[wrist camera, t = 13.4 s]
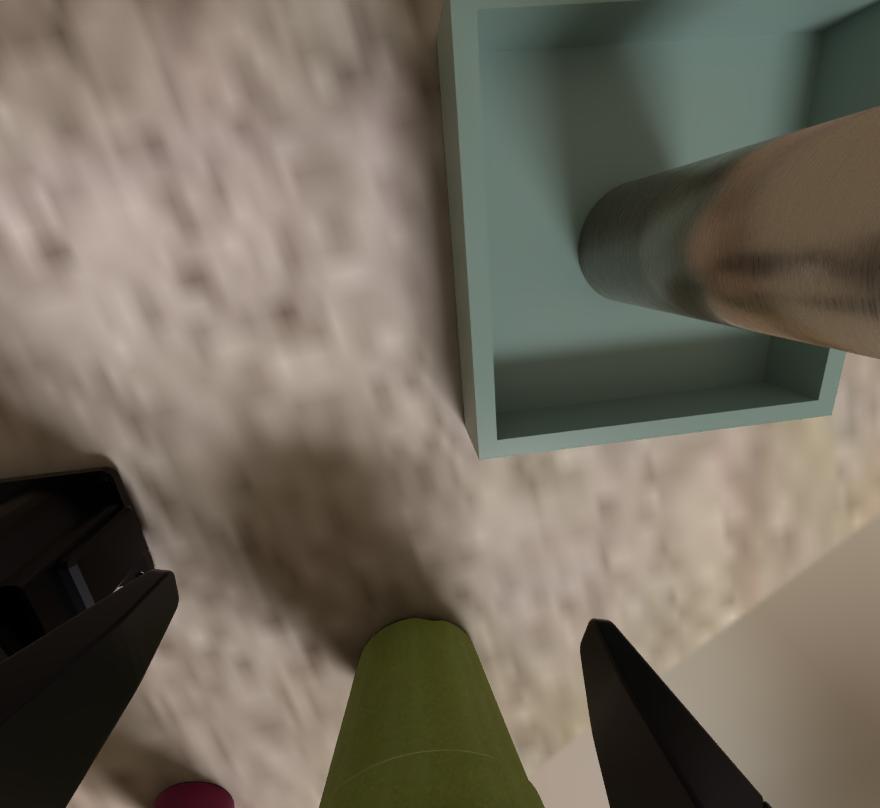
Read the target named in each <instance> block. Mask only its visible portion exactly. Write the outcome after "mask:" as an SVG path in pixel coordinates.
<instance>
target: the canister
mask: <svg viewBox="0 0 880 808" xmlns="http://www.w3.org/2000/svg"><path fill="white" fill-rule="evenodd" d="M578 256H579V263H580V267H581V270H582V273H583V275H584V277H585V279H586V281H587V282H588V284H589V285H590V286H591V288H592V289H593V290H594V291H596V292H597V293H598V294H599V295H601V296H603V297H604V298H607V299H609V300H612V301H616V302H621V303H625V304H630V305H634V306H639V307H644V308H648V309H653V310H657V311H662V312H667V313H671V314H676V315H680V316H685V317H689V318H694V319H699V320H703V321H708V322H712V323H717V324H721V325H726V326H731V327H735V328H740V329H744V330H749V331H754V332H758V333H763V334H767V335H772V336H776V337H781V338H786V339H790V340H795V341H799V342H804V343H809V344H813V345H818V346H822V347H827V348H831V349H836V350H841V351H845V352H850V353H854V354H859V355H863V356H868V357H873V358H877V359H880V106H878V107H874V108H871V109H868V110H864V111H861V112H858V113H854V114H851V115H848V116H845V117H841V118H838V119H835V120H831V121H828V122H825V123H821V124H818V125H815V126H812V127H808V128H805V129H802V130H798V131H795V132H792V133H788V134H785V135H782V136H779V137H775V138H772V139H769V140H765V141H762V142H759V143H755V144H752V145H749V146H746V147H742V148H739V149H736V150H732V151H729V152H726V153H722V154H719V155H716V156H713V157H709V158H706V159H703V160H699V161H696V162H693V163H689V164H686V165H683V166H680V167H676V168H673V169H670V170H666V171H663V172H660V173H656V174H653V175H650V176H647V177H643V178H640V179H637V180H633V181H630V182H627V183H623V184H621V185H619V186H617V187H615V188H613V189H612V190H610V191H609V192H607V193H606V194H605V195H604V196H602V197H601V198H600V200H599V201H598V202H597V203H596V204H595V205H594V207H593V208H592V209H591V211H590V212H589V214H588V216H587V218H586V220H585V222H584V224H583V227H582V230H581V233H580V238H579V246H578Z"/></svg>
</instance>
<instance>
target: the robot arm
mask: <svg viewBox="0 0 880 808" xmlns="http://www.w3.org/2000/svg"><path fill="white" fill-rule="evenodd" d="M102 476H105V477H107V479H108V481H106V480H104V479H103V477H102ZM140 571H142V572H144V574H143V573H141V572H140ZM120 586H123V587H122V588H120V589H119V590H117V591H115V590H116V589H117V587H120ZM114 591H115V592H114ZM113 592H114V593H113ZM178 602H179V595H178V590H177V585H176V580H175V575H174V573H173V572H172V571H169V570H160V569H155V568H154V566H153V563H152V560H151V558H150V555H149V552H148V548H147V545H146V542H145V540H144V537H143V535H142V532H141V529H140V527H139V524H138V521H137V519H136V516H135V514H134V511H133V509H132V508H131V505H130V503H129V500H128V497H127V495H126V492H125V490H124V487H123V484H122V482H121V479H120V477H119V474H118V473H117V471H115V470H114V469H113V468H110V467H99V468H91V469H82V470H74V471H66V472H58V473H49V474H41V475H33V476H24V477H16V478H8V479H0V808H66V806H67V805H68V803H69V801H70V800H71V798H72V796H73V795H74V793H75V791H76V790H77V788H78V786H79V785H80V783H81V781H82V780H83V778H84V776H85V775H86V773H87V771H88V770H89V768H90V766H91V765H92V763H93V762H94V760H95V758H96V757H97V755H98V753H99V752H100V750H101V748H102V747H103V745H104V743H105V742H106V740H107V738H108V737H109V735H110V733H111V732H112V730H113V728H114V727H115V725H116V723H117V722H118V720H119V718H120V717H121V715H122V713H123V712H124V710H125V709H126V707H127V705H128V704H129V702H130V700H131V699H132V697H133V695H134V693H135V692H136V690H137V688H138V686H139V685H140V683H141V681H142V679H143V677H144V675H145V673H146V671H147V669H148V667H149V665H150V663H151V661H152V659H153V657H154V655H155V652H156V650H157V648H158V646H159V644H160V642H161V640H162V638H163V636H164V634H165V632H166V630H167V628H168V626H169V624H170V622H171V620H172V617H173V615H174V613H175V611H176V609H177V606H178ZM580 655H581V662H582V669H583V676H584V683H585V689H586V696H587V703H588V710H589V717H590V723H591V729H592V734H593V738H594V743H595V748H596V752H597V756H598V760H599V764H600V768H601V772H602V776H603V780H604V784H605V788H606V793H607V797H608V800H609V805H610V808H772V807H771V806H770V805H769V804H768V803H767V802H766V801H764V802H763V797H762V796H761V794H760V793H759V792H758V791H757V790H756V789H755V788H754V786H753V785H752V784H751V783H750V782H749V781H748V779H747V778H746V777H745V776H744V775H743V774H742V772H741V771H740V770H739V769H738V768H737V767H736V765H735V764H734V763H733V762H732V761H731V760H730V758H729V757H728V756H727V755H726V754H725V753H724V751H722V749H721V748H720V747H719V746H718V745H717V743H716V742H715V741H714V740H713V739H712V737H711V736H710V735H709V734H708V733H707V732H706V731H705V729H704V728H703V727H702V726H701V725H700V724H699V722H698V721H697V720H696V719H695V718H694V717H693V716H692V714H691V713H690V712H689V711H688V710H687V708H686V707H685V706H684V705H683V704H682V703H681V702H680V700H679V699H678V698H677V697H676V696H675V694H674V693H673V692H672V691H671V690H670V689H669V688H668V686H667V685H666V684H665V683H664V682H663V681H662V679H661V678H660V677H659V676H658V675H657V674H656V672H655V671H654V670H653V669H652V668H651V667H650V665H649V664H648V663H647V662H646V661H645V660H644V658H643V657H642V656H641V655H640V654H639V653H638V651H637V650H636V649H635V648H634V647H633V646H632V644H631V643H630V642H629V641H628V640H627V639H626V638H625V636H624V635H623V634H622V633H621V632H620V631H619V629H618V628H617V627H616V626H615V625H614V624H613V623H612V622H611V621H609V620H604V619H595V618H594V619H591V620H590V621H589V623H588V626H587V628H586V631H585V633H584V636H583V638H582V641H581V645H580Z"/></svg>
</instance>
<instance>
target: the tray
mask: <svg viewBox="0 0 880 808" xmlns="http://www.w3.org/2000/svg"><path fill="white" fill-rule="evenodd" d="M437 52H438V66H439V79H440V93H441V107H442V120H443V134H444V148H445V161H446V175H447V188H448V202H449V216H450V229H451V243H452V256H453V270H454V284H455V297H456V311H457V324H458V338H459V352H460V365H461V379H462V392H463V406H464V420H465V428H466V430H467V432H468V435H469V437H470V439H471V442H472V444H473V446H474V449H475V451H476V453H477V456H478V458H479V460H482V459H490V458H498V457H506V456H513V455H521V454H529V453H537V452H545V451H553V450H561V449H569V448H576V447H584V446H592V445H600V444H608V443H616V442H624V441H631V440H639V439H647V438H655V437H663V436H671V435H679V434H686V433H694V432H702V431H710V430H718V429H726V428H734V427H741V426H749V425H757V424H765V423H773V422H781V421H789V420H796V419H804V418H812V417H820V416H828V415H832V410H833V406H834V402H835V397H836V393H837V389H838V385H839V380H840V376H841V372H842V368H843V363H844V359H845V355H846V352H845V351H841V350H836V349H831V348H827V347H822V346H818V345H813V344H809V343H804V342H799V341H795V340H790V339H786V338H781V337H776V336H772V335H767V334H763V333H758V332H754V331H749V330H744V329H740V328H735V327H731V326H726V325H721V324H717V323H712V322H708V321H703V320H699V319H694V318H689V317H685V316H680V315H676V314H671V313H667V312H662V311H657V310H653V309H648V308H644V307H639V306H634V305H630V304H625V303H621V302H616V301H612V300H609V299H607V298H604V297H603V296H601V295H599V294H598V293H597V292H596V291H594V290H593V289H592V288H591V286H590V285H589V284H588V282H587V281H586V279H585V277H584V275H583V273H582V270H581V267H580V263H579V256H578V246H579V238H580V233H581V230H582V227H583V224H584V222H585V220H586V218H587V216H588V214H589V212H590V211H591V209H592V208H593V207H594V205H595V204H596V203H597V202H598V201H599V200H600V198H601V197H602V196H604V195H605V194H606V193H607V192H609V191H610V190H612V189H613V188H615V187H617V186H619V185H621V184H623V183H627V182H630V181H633V180H637V179H640V178H643V177H647V176H650V175H653V174H656V173H660V172H663V171H666V170H670V169H673V168H676V167H680V166H683V165H686V164H689V163H693V162H696V161H699V160H703V159H706V158H709V157H713V156H716V155H719V154H722V153H726V152H729V151H732V150H736V149H739V148H742V147H746V146H749V145H752V144H755V143H759V142H762V141H765V140H769V139H772V138H775V137H779V136H782V135H785V134H788V133H792V132H795V131H798V130H802V129H805V128H808V127H812V126H815V125H818V124H821V123H825V122H828V121H831V120H835V119H838V118H841V117H845V116H848V115H851V114H854V113H858V112H861V111H864V110H868V109H871V108H874V107H878V106H880V0H444V3H443V9H442V14H441V19H440V24H439V29H438V34H437Z"/></svg>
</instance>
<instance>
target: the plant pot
mask: <svg viewBox="0 0 880 808" xmlns="http://www.w3.org/2000/svg"><path fill="white" fill-rule="evenodd" d="M319 808H545V807H544V805H543V803H542V800H541V798H540V796H539V794H538V792H537V790H536V789H535V787H534V786H533V785H532V783H531V782H530V781H529V780H528V778H527V776H526V773H525V771H524V768H523V766H522V763H521V761H520V759H519V756H518V754H517V751H516V749H515V746H514V744H513V742H512V739H511V737H510V734H509V732H508V729H507V727H506V724H505V722H504V719H503V717H502V714H501V712H500V710H499V707H498V705H497V702H496V700H495V697H494V695H493V692H492V690H491V687H490V685H489V682H488V680H487V677H486V675H485V672H484V670H483V667H482V665H481V662H480V660H479V657H478V655H477V652H476V650H475V648H474V646H473V643H472V641H471V640H470V638H469V637H468V636H467V634H466V633H465V632H464V631H462V630H461V629H460V628H459V627H457V626H456V625H454V624H452V623H450V622H447V621H444V620H439V621H430V620H424V619H420V618H409V619H405V620H401V621H398V622H396V623H393V624H391V625H389V626H387V627H385V628H383V629H382V630H381V631H379V632H378V633H377V634H375V635H374V636H373V637H372V638H371V639H370V640H369V642H368V643H367V644H366V646H365V647H364V649H363V651H362V654H361V656H360V659H359V662H358V665H357V669H356V673H355V677H354V680H353V684H352V688H351V692H350V696H349V699H348V703H347V707H346V710H345V714H344V718H343V721H342V725H341V729H340V732H339V736H338V740H337V743H336V747H335V751H334V755H333V758H332V762H331V766H330V769H329V773H328V777H327V781H326V784H325V788H324V792H323V795H322V799H321V802H320V806H319Z"/></svg>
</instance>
